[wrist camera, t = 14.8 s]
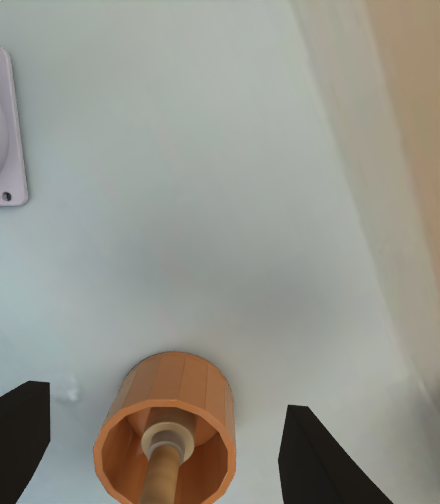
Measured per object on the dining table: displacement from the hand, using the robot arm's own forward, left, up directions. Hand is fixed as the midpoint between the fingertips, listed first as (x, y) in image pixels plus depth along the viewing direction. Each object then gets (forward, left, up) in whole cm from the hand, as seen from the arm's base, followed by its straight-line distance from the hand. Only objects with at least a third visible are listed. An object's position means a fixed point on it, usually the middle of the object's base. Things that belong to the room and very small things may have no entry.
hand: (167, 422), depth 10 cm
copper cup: (-1, -7, -10) cm, 13 cm away
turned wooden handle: (-1, -7, -10) cm, 12 cm away
